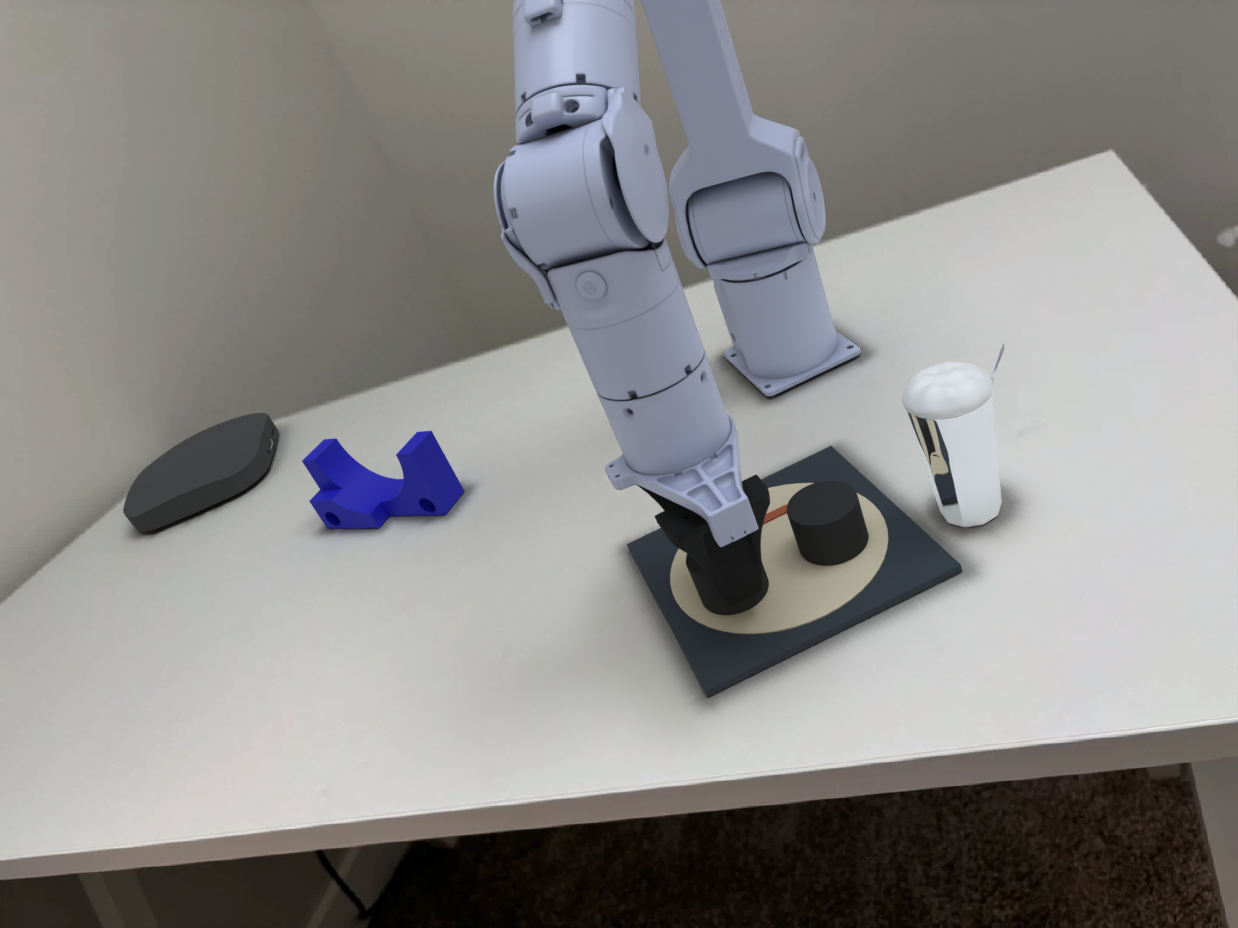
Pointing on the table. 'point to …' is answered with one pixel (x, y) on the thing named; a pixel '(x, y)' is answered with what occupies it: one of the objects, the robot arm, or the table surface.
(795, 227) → the robot arm
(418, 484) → the cable clip
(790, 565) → the board
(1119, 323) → the table surface
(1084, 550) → the table surface
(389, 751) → the table surface
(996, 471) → the milkshake
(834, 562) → the dot
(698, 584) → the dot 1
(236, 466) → the media streaming box
